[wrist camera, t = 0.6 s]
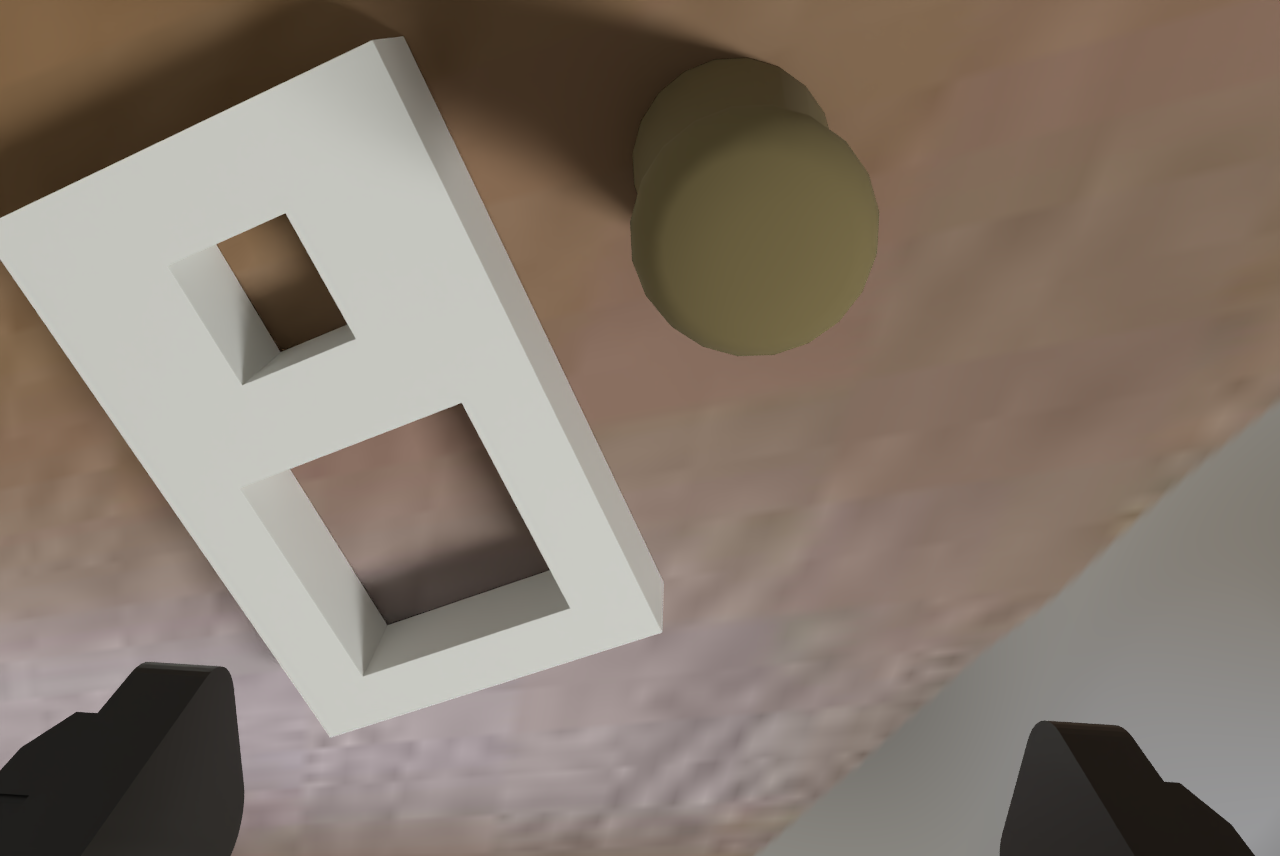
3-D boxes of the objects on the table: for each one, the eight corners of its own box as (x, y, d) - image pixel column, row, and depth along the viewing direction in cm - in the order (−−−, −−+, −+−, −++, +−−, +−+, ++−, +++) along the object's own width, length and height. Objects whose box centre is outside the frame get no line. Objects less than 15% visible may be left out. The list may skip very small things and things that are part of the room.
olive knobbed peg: (600, 214, 29) (557, 325, 19) (684, 20, 27) (684, 31, 17) (775, 294, 30) (821, 441, 20) (871, 112, 28) (977, 175, 18)
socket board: (403, 36, 27) (372, 39, 25) (664, 582, 35) (661, 632, 32) (43, 207, 30) (-21, 228, 27) (356, 683, 37) (330, 737, 34)
